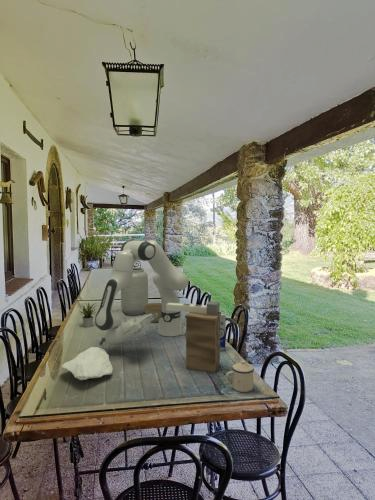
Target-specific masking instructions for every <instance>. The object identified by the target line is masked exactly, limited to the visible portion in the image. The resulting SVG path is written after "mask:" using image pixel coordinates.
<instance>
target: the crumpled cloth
mask: <svg viewBox="0 0 375 500" xmlns="http://www.w3.org/2000/svg"><path fill="white" fill-rule="evenodd" d="M61 368H62V369H64V370H66V371H69V372H71V374H72V375H73V376H74V378H75V379H78V380H79V381H84V380H85V381H86V380H88V379H98V378H102V377H103V376H109V375H112V373H113V365H112V363H111V361H110V354H108V353H107V351H106V350H105V349H104V348H101V347H100V346H91V347H89V348H88V349H87V348H86V349H85V350H83V351H82V352H80V353H78V354H77V355H76V356H75V357H74V358H73V359H71V360H69V361H66V362H64V363H63V364H62V365H61Z"/></svg>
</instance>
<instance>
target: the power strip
mask: <svg viewBox="0 0 375 500" xmlns="http://www.w3.org/2000/svg"><path fill="white" fill-rule="evenodd" d="M220 304H221V303H220V301H211V300H210V301H208V302H207V303H206V305H205V304H194V303H193V304H192V303H180V302H179V303H168V304H166V310H168V311H180V312H183V313H189V312H192V313H204V314H209V315H217V314H218V313H219V312H221V311H220V308H221V307H220Z"/></svg>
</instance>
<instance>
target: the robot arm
mask: <svg viewBox="0 0 375 500" xmlns="http://www.w3.org/2000/svg"><path fill="white" fill-rule="evenodd" d="M136 261H143V262H145V261H146V262H148V264H149V265H150V267H151V269H152V270H153V272H154V274H153V276H152V281H153V284H154V285H155V286H156V288H157V290H158V293H159V295H160V299H161V301H160V303H161V305H162V310H161V318H160V319H159V322H158V326H157V327H158V329H156V331H155V332H156V333H158V334H159V335H160V336H163V337H178V336H184V335H185V336H186V325H185V324H184V323H185V321H184V318H183V317H182V316H181V314H182V313H181V312H180V311H168V310H166V304H168V303H180V297H179V296H178V295H177V294H176V292H175V291H183V290H185V289H187V287H188V286H189V278H188V275H186V274H185V273H183V272H182V271H180V269H178V268H177V267H176V266H175V265H174V264H173V263H172V261H170V259H169V257H168V256H167V254H166V253H165V250H163V248H162V246H161V245H160V244H159V243H158V242H157V241H156V240H155V239H154V240H153V239H151V240H147V241H144V240H126V241H124V242H123V243H122V245H121V247H120V250H119V251H118V252H117V253H116V255H115V258H114V260H113V265H112V270H111V273H110V277H109V280H108V282H107V283H106V285H105V286H104V287H105V288H104V290H103V295H102V299H101V301H100V305H99V308H98V310H97V312H96V313H95V317H94V322H95V326H96V327H97V329H99V330H100V331H106V332H105V334H104V335H105V340H106V341H105V342H106V343H107V344H108V345H110V346H117V345H120V344H123V343H124V342H126V341H127V340H130V339H132V338H134V337H136V336H138V335H139V334H140V333H141V331H142V330H143V329H144V328H145V326H147V325H149V324H150V323H152V322H151V321H153V320H154V318H155V317H157V316H158V315H157V313H155V314H153V315H152V314H148V315H146V314H145V315H143V316H141V317H135V318H130V319H128V320H127V318H126V314H125V312H124V311H123V310H122V309H113V306H114V302H115V299H116V296H117V294H118V293H119V292H121V289H123V288H125V287H126V286H128V285H129V284H130V282H131V279H132V274H133V273H132V272H133V268H134V266H135V265H134V264H135V263H136Z"/></svg>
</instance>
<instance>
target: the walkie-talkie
mask: <svg viewBox="0 0 375 500" xmlns="http://www.w3.org/2000/svg"><path fill="white" fill-rule="evenodd" d="M104 340H105V334H104V335H103V336H101V340H100V342H99V344H100V345H101V344H102V343H103V342H107V341H106V340H105V341H104Z"/></svg>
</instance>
